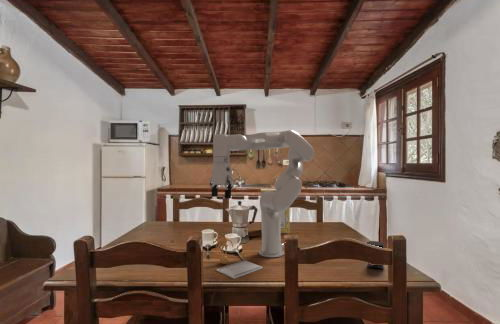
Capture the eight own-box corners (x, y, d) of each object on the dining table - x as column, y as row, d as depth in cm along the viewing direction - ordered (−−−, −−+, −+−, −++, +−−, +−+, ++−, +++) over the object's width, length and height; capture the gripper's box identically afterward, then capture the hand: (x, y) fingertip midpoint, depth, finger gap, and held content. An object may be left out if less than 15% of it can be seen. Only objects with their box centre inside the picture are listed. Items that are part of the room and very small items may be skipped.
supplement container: (365, 264, 126) (364, 240, 126) (380, 264, 125) (380, 241, 125) (369, 269, 119) (369, 245, 119) (386, 270, 119) (386, 245, 119)
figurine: (213, 265, 128) (213, 238, 128) (217, 260, 134) (217, 235, 134) (231, 265, 126) (231, 239, 127) (234, 261, 132) (234, 235, 132)
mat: (244, 261, 132) (244, 260, 132) (262, 268, 123) (262, 266, 123) (216, 270, 121) (216, 269, 121) (234, 278, 112) (234, 277, 112)
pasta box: (261, 233, 183) (260, 190, 183) (261, 229, 194) (260, 188, 194) (289, 233, 182) (289, 190, 183) (288, 229, 193) (287, 188, 193)
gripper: (239, 160, 128) (239, 198, 128) (216, 161, 140) (216, 195, 140) (227, 160, 123) (226, 199, 122) (203, 160, 135) (203, 196, 135)
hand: (221, 197), depth 131 cm, fingers open, 9 cm apart
